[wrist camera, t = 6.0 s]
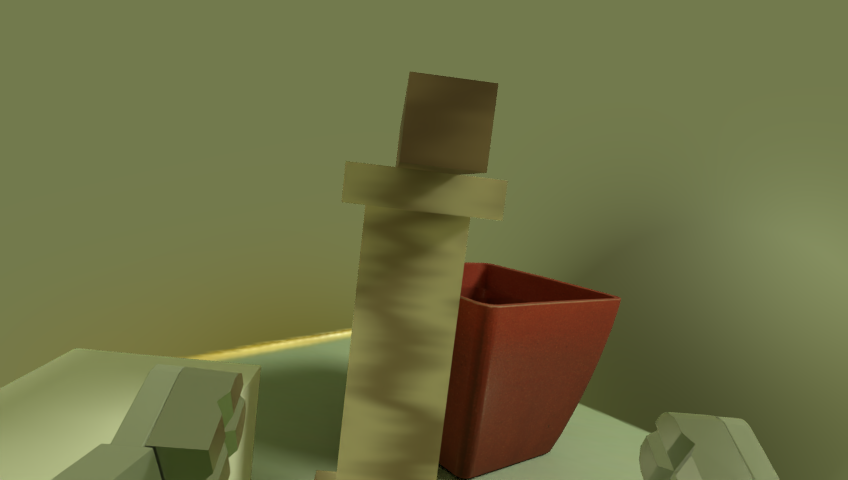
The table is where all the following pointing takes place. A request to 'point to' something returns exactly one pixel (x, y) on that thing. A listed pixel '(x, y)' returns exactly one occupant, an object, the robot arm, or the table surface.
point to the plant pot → (518, 365)
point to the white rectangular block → (92, 410)
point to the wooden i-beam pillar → (405, 315)
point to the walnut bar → (446, 124)
